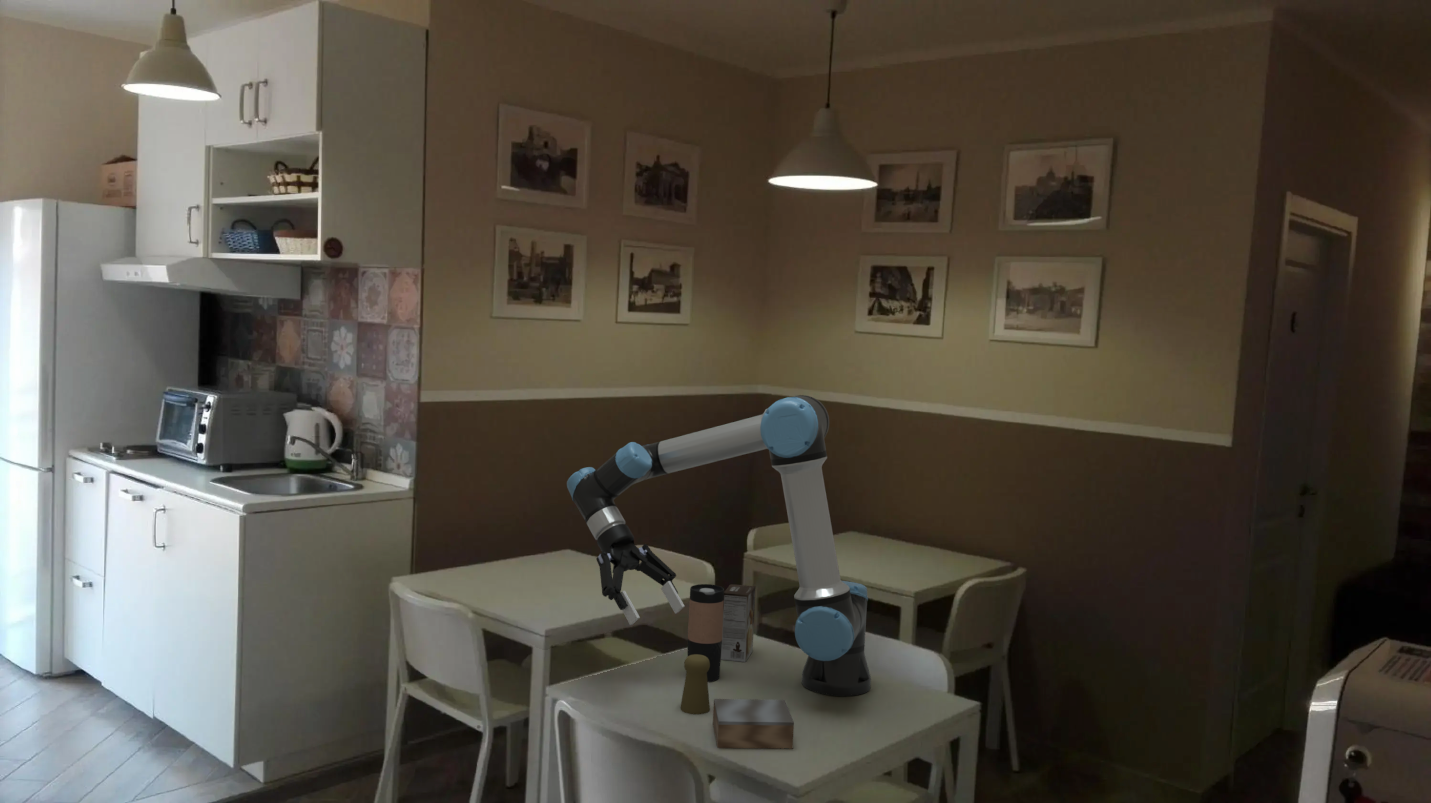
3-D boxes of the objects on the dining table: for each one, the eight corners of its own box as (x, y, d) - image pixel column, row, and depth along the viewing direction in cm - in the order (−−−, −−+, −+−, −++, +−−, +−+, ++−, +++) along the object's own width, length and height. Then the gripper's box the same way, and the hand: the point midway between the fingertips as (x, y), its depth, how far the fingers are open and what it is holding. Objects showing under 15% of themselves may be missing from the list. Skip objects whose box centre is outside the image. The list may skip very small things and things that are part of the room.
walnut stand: (783, 724, 213) (784, 699, 213) (792, 748, 201) (793, 722, 201) (712, 723, 212) (713, 698, 212) (717, 747, 200) (718, 721, 200)
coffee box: (727, 648, 262) (729, 583, 261) (753, 651, 261) (756, 585, 259) (719, 659, 253) (722, 592, 252) (746, 662, 252) (749, 594, 250)
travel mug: (699, 668, 245) (703, 582, 244) (727, 676, 241) (731, 588, 239) (679, 677, 239) (682, 587, 238) (707, 684, 235) (710, 594, 233)
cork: (681, 702, 223) (683, 650, 222) (710, 704, 223) (712, 652, 222) (679, 713, 217) (681, 659, 216) (709, 714, 217) (711, 661, 216)
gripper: (642, 535, 246) (687, 614, 237) (558, 549, 227) (605, 636, 218) (660, 516, 242) (707, 596, 233) (577, 528, 223) (624, 615, 214)
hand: (658, 615), depth 226 cm, fingers open, 13 cm apart
